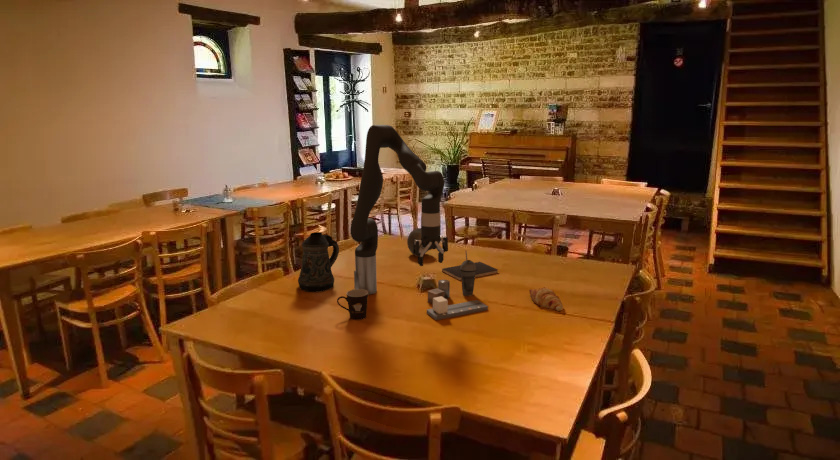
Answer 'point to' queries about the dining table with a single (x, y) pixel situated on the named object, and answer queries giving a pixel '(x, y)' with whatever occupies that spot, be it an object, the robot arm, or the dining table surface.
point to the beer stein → (317, 263)
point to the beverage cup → (468, 276)
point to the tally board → (459, 309)
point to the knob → (440, 305)
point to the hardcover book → (480, 270)
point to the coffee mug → (356, 303)
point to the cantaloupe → (414, 236)
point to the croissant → (546, 298)
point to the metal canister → (444, 287)
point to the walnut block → (434, 294)
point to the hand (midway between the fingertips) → (430, 264)
